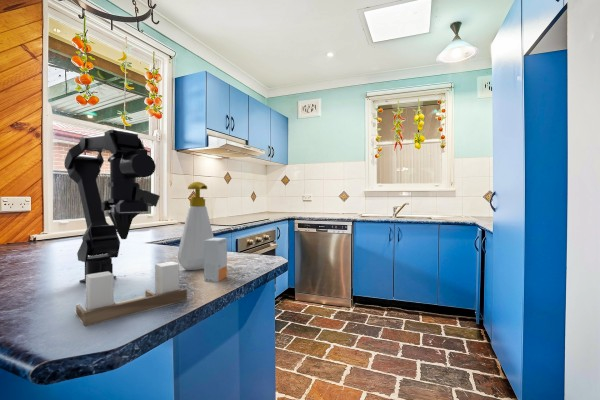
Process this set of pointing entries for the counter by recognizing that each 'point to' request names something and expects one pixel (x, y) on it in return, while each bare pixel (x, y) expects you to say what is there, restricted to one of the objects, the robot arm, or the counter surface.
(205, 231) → the soap bottle
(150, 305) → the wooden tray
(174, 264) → the white rectangular block
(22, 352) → the counter surface
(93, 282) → the white tall block
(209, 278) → the skincare box
